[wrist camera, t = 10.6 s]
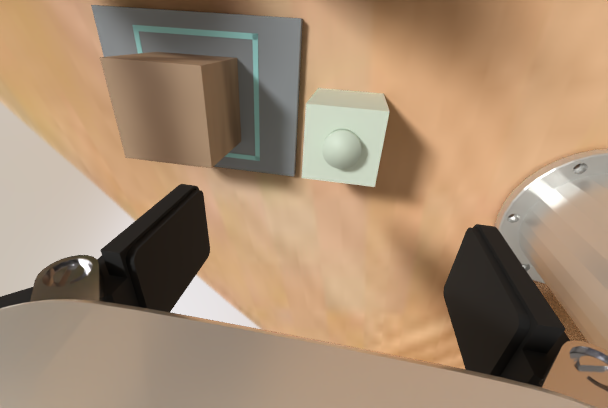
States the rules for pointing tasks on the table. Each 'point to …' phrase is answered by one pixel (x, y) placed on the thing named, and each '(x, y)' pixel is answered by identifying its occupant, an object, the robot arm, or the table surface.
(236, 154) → the slate mat
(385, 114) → the sage block
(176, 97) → the walnut block
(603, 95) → the table surface
